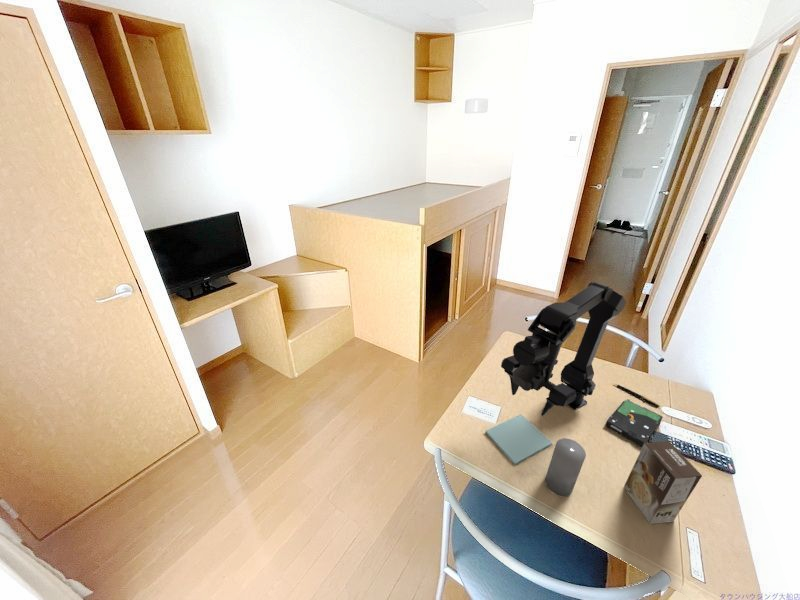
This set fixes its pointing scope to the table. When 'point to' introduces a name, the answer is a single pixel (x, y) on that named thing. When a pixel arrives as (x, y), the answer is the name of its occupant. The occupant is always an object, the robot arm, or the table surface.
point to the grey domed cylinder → (564, 467)
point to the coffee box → (661, 481)
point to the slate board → (518, 439)
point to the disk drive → (634, 422)
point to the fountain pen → (638, 396)
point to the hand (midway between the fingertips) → (527, 404)
